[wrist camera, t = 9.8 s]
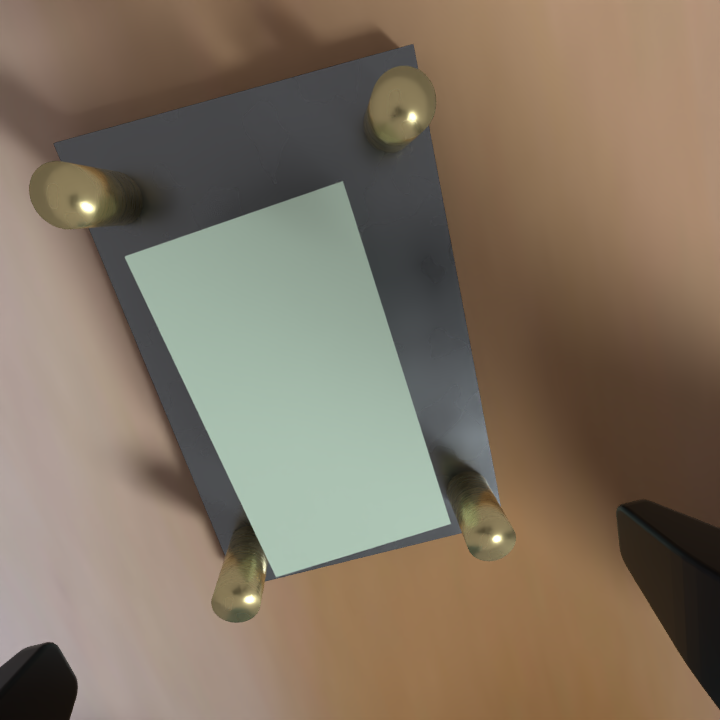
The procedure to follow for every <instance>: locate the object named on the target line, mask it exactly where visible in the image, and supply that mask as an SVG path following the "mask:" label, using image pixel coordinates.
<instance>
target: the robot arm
mask: <svg viewBox="0 0 720 720" xmlns="http://www.w3.org/2000/svg"><path fill="white" fill-rule="evenodd" d="M616 517H617V527H618V536H619V546H620V552H621V555H622V558H623V560H624V562H625V564H626V566H627V568H628V570H629V571H630V573H631V575H632V576H633V578H634V579H635V581H636V583H637V584H638V586H639V588H640V589H641V591H642V593H643V594H644V596H645V598H646V599H647V601H648V602H649V604H650V606H651V607H652V609H653V611H654V612H655V614H656V616H657V617H658V619H659V621H660V622H661V624H662V625H663V627H664V629H665V630H666V632H667V634H668V635H669V637H670V639H671V640H672V642H673V643H674V645H675V647H676V648H677V650H678V652H679V653H680V655H681V656H682V658H683V659H684V661H685V663H686V664H687V666H688V667H689V668H690V670H691V671H692V673H693V674H694V676H695V677H696V678H697V680H698V681H699V683H700V684H701V685H702V687H703V688H704V689H705V691H706V692H707V693H708V695H709V696H710V697H711V699H712V700H713V701H714V703H715V704H716V706H717V707H718V708H719V710H720V528H718V527H715V526H713V525H710V524H708V523H705V522H703V521H700V520H697V519H695V518H692V517H690V516H687V515H685V514H682V513H680V512H677V511H674V510H672V509H669V508H667V507H664V506H662V505H659V504H657V503H654V502H651V501H648V500H637V501H633V502H629V503H625V504H621V505H620V506H618V508H617V511H616ZM77 690H78V684H77V679H76V676H75V674H74V673H73V671H72V669H71V667H70V666H69V664H68V662H67V661H66V659H65V657H64V655H63V654H62V652H61V650H60V649H59V647H58V646H57V645H56V644H54V643H52V642H46V643H42V644H38V645H34V646H30V647H27V648H25V649H23V650H21V651H20V652H18V653H17V654H16V655H15V656H14V657H12V658H11V659H10V660H9V661H7V662H6V663H5V664H4V665H2V666H1V667H0V720H70V716H71V713H72V710H73V706H74V703H75V700H76V696H77Z"/></svg>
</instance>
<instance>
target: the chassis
mask: <svg viewBox="0 0 720 720" xmlns="http://www.w3.org/2000/svg"><path fill="white" fill-rule="evenodd" d="M435 109H436V95H435V91H434V88H433V85H432V83H431V81H430V80H429V79H428V77H427V76H426V75H425V74H424V73H423V72H421V71H420V70H418V66H417V61H416V55H415V50H414V45H413V44H412V45H408V46H404V47H401V48H397V49H393V50H390V51H386V52H383V53H379V54H375V55H372V56H368V57H364V58H361V59H357V60H354V61H350V62H346V63H343V64H339V65H335V66H332V67H328V68H324V69H321V70H317V71H314V72H310V73H306V74H303V75H299V76H295V77H292V78H288V79H285V80H281V81H277V82H274V83H270V84H266V85H263V86H259V87H256V88H252V89H248V90H245V91H241V92H237V93H234V94H230V95H227V96H223V97H219V98H216V99H212V100H208V101H205V102H201V103H198V104H194V105H190V106H187V107H183V108H179V109H176V110H172V111H168V112H165V113H161V114H158V115H154V116H150V117H147V118H143V119H139V120H136V121H132V122H129V123H125V124H121V125H118V126H114V127H110V128H107V129H103V130H100V131H96V132H92V133H89V134H85V135H81V136H78V137H74V138H71V139H67V140H63V141H60V142H56V143H54V146H55V148H56V151H57V153H58V155H59V158H60V160H61V161H52V162H48V163H45V164H43V165H41V166H40V167H39V168H38V169H37V170H36V171H35V172H34V173H33V175H32V177H31V180H30V185H29V194H30V199H31V202H32V204H33V206H34V208H35V210H36V211H37V213H38V214H39V215H40V216H41V217H42V218H43V219H44V220H45V221H47V222H48V223H50V224H51V225H53V226H55V227H58V228H62V229H81V228H89V230H90V232H91V235H92V237H93V240H94V242H95V244H96V247H97V249H98V252H99V254H100V256H101V259H102V261H103V264H104V266H105V268H106V271H107V273H108V276H109V278H110V280H111V283H112V285H113V288H114V290H115V292H116V295H117V297H118V300H119V302H120V304H121V307H122V309H123V312H124V314H125V316H126V319H127V321H128V324H129V326H130V328H131V331H132V333H133V336H134V338H135V340H136V343H137V345H138V348H139V350H140V352H141V355H142V357H143V360H144V362H145V364H146V367H147V369H148V372H149V374H150V376H151V379H152V381H153V384H154V386H155V388H156V391H157V393H158V396H159V398H160V400H161V403H162V405H163V408H164V410H165V412H166V415H167V417H168V420H169V422H170V424H171V427H172V429H173V432H174V434H175V436H176V439H177V441H178V444H179V446H180V448H181V451H182V453H183V456H184V458H185V460H186V463H187V465H188V468H189V470H190V472H191V475H192V477H193V480H194V482H195V485H196V487H197V489H198V492H199V494H200V497H201V499H202V501H203V504H204V506H205V509H206V511H207V513H208V516H209V518H210V521H211V523H212V525H213V528H214V530H215V533H216V535H217V537H218V540H219V542H220V545H221V547H222V549H223V552H224V554H225V559H224V562H223V565H222V569H221V572H220V575H219V578H218V581H217V584H216V588H215V591H214V594H213V597H212V601H211V604H212V608H213V611H214V612H215V613H216V615H217V616H219V617H220V618H221V619H223V620H225V621H229V622H235V623H238V622H244V621H247V620H250V619H251V618H253V617H254V616H255V615H256V614H257V613H258V611H259V608H260V604H261V599H262V593H263V588H264V583H265V581H268V580H273V579H277V578H281V577H285V576H289V575H293V574H297V573H301V572H305V571H309V570H313V569H317V568H321V567H325V566H329V565H333V564H338V563H342V562H346V561H350V560H354V559H358V558H362V557H366V556H370V555H374V554H378V553H382V552H386V551H390V550H394V549H398V548H402V547H407V546H411V545H415V544H419V543H423V542H427V541H431V540H435V539H439V538H443V537H447V536H451V535H455V534H459V533H462V534H463V536H464V539H465V542H466V544H467V547H468V549H469V551H470V553H471V554H472V555H473V556H474V557H476V558H477V559H480V560H483V561H494V560H498V559H500V558H503V557H504V556H506V555H507V554H508V553H509V552H510V551H511V550H512V548H513V547H514V544H515V541H516V535H515V532H514V530H513V528H512V526H511V524H510V522H509V521H508V519H507V517H506V515H505V514H504V512H503V510H502V508H501V505H500V500H499V494H498V489H497V484H496V478H495V473H494V468H493V463H492V457H491V452H490V447H489V441H488V436H487V431H486V426H485V420H484V415H483V410H482V404H481V399H480V394H479V389H478V383H477V378H476V373H475V367H474V362H473V357H472V352H471V346H470V341H469V336H468V330H467V325H466V320H465V314H464V309H463V304H462V299H461V293H460V288H459V283H458V277H457V272H456V267H455V262H454V256H453V251H452V246H451V240H450V235H449V230H448V225H447V219H446V214H445V209H444V203H443V198H442V193H441V188H440V182H439V177H438V172H437V166H436V161H435V156H434V150H433V145H432V140H431V135H430V129H429V124H430V122H431V120H432V118H433V116H434V113H435ZM342 181H343V183H344V186H345V189H346V193H347V196H348V199H349V202H350V205H351V209H352V212H353V215H354V218H355V221H356V224H357V228H358V231H359V234H360V237H361V240H362V243H363V247H364V250H365V253H366V256H367V259H368V262H369V266H370V269H371V272H372V275H373V278H374V281H375V285H376V288H377V291H378V294H379V297H380V301H381V304H382V307H383V310H384V313H385V316H386V320H387V323H388V326H389V329H390V332H391V335H392V339H393V342H394V345H395V348H396V351H397V354H398V358H399V361H400V364H401V367H402V370H403V373H404V377H405V380H406V383H407V386H408V389H409V393H410V396H411V399H412V402H413V405H414V408H415V412H416V415H417V418H418V421H419V424H420V427H421V431H422V434H423V437H424V440H425V443H426V446H427V450H428V453H429V456H430V459H431V462H432V465H433V469H434V472H435V475H436V478H437V481H438V485H439V488H440V491H441V494H442V497H443V500H444V504H445V507H446V510H447V513H448V516H449V519H450V523H451V524H449V525H446V526H442V527H439V528H436V529H433V530H429V531H426V532H423V533H419V534H416V535H413V536H410V537H406V538H403V539H400V540H397V541H393V542H390V543H387V544H384V545H380V546H377V547H374V548H370V549H367V550H364V551H361V552H357V553H354V554H351V555H348V556H344V557H341V558H338V559H335V560H331V561H328V562H325V563H322V564H318V565H315V566H312V567H308V568H305V569H302V570H299V571H295V572H292V573H289V574H286V575H282V576H279V577H276V576H275V574H274V572H273V570H272V568H271V566H270V563H269V561H268V559H267V557H266V555H265V553H264V551H263V549H262V547H261V544H260V542H259V540H258V538H257V536H256V534H255V532H254V530H253V528H252V525H251V523H250V521H249V519H248V517H247V515H246V513H245V511H244V509H243V506H242V504H241V502H240V500H239V498H238V496H237V494H236V492H235V490H234V487H233V485H232V483H231V481H230V479H229V477H228V475H227V473H226V470H225V468H224V466H223V464H222V462H221V460H220V458H219V456H218V454H217V451H216V449H215V447H214V445H213V443H212V441H211V439H210V437H209V435H208V432H207V430H206V428H205V426H204V424H203V422H202V420H201V418H200V416H199V413H198V411H197V409H196V407H195V405H194V403H193V401H192V399H191V397H190V394H189V392H188V390H187V388H186V386H185V384H184V382H183V380H182V377H181V375H180V373H179V371H178V369H177V367H176V365H175V363H174V361H173V358H172V356H171V354H170V352H169V350H168V348H167V346H166V344H165V342H164V339H163V337H162V335H161V333H160V331H159V329H158V327H157V325H156V323H155V320H154V318H153V316H152V314H151V312H150V310H149V308H148V306H147V304H146V301H145V299H144V297H143V295H142V293H141V291H140V289H139V287H138V284H137V282H136V280H135V278H134V276H133V274H132V272H131V270H130V268H129V265H128V263H127V261H126V259H125V256H127V255H130V254H133V253H136V252H139V251H142V250H145V249H148V248H151V247H153V246H156V245H159V244H162V243H165V242H168V241H171V240H174V239H177V238H180V237H182V236H185V235H188V234H191V233H194V232H197V231H200V230H203V229H206V228H208V227H211V226H214V225H217V224H220V223H223V222H226V221H229V220H232V219H235V218H237V217H240V216H243V215H246V214H249V213H252V212H255V211H258V210H261V209H263V208H266V207H269V206H272V205H275V204H278V203H281V202H284V201H287V200H290V199H292V198H295V197H298V196H301V195H304V194H307V193H310V192H313V191H316V190H318V189H321V188H324V187H327V186H330V185H333V184H336V183H339V182H342Z"/></svg>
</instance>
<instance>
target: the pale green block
mask: <svg viewBox="0 0 720 720" xmlns="http://www.w3.org/2000/svg"><path fill="white" fill-rule="evenodd" d="M125 259H126V261H127V263H128V265H129V268H130V270H131V272H132V274H133V276H134V278H135V280H136V282H137V284H138V287H139V289H140V291H141V293H142V295H143V297H144V299H145V301H146V304H147V306H148V308H149V310H150V312H151V314H152V316H153V318H154V320H155V323H156V325H157V327H158V329H159V331H160V333H161V335H162V337H163V339H164V342H165V344H166V346H167V348H168V350H169V352H170V354H171V356H172V358H173V361H174V363H175V365H176V367H177V369H178V371H179V373H180V375H181V377H182V380H183V382H184V384H185V386H186V388H187V390H188V392H189V394H190V397H191V399H192V401H193V403H194V405H195V407H196V409H197V411H198V413H199V416H200V418H201V420H202V422H203V424H204V426H205V428H206V430H207V432H208V435H209V437H210V439H211V441H212V443H213V445H214V447H215V449H216V451H217V454H218V456H219V458H220V460H221V462H222V464H223V466H224V468H225V470H226V473H227V475H228V477H229V479H230V481H231V483H232V485H233V487H234V490H235V492H236V494H237V496H238V498H239V500H240V502H241V504H242V506H243V509H244V511H245V513H246V515H247V517H248V519H249V521H250V523H251V525H252V528H253V530H254V532H255V534H256V536H257V538H258V540H259V542H260V544H261V547H262V549H263V551H264V553H265V555H266V557H267V559H268V561H269V563H270V566H271V568H272V570H273V572H274V574H275V576H276V577H279V576H282V575H286V574H289V573H292V572H295V571H299V570H302V569H305V568H308V567H312V566H315V565H318V564H322V563H325V562H328V561H331V560H335V559H338V558H341V557H344V556H348V555H351V554H354V553H357V552H361V551H364V550H367V549H370V548H374V547H377V546H380V545H384V544H387V543H390V542H393V541H397V540H400V539H403V538H406V537H410V536H413V535H416V534H419V533H423V532H426V531H429V530H433V529H436V528H439V527H442V526H446V525H449V524H451V523H450V519H449V516H448V513H447V510H446V507H445V504H444V500H443V497H442V494H441V491H440V488H439V485H438V481H437V478H436V475H435V472H434V469H433V465H432V462H431V459H430V456H429V453H428V450H427V446H426V443H425V440H424V437H423V434H422V431H421V427H420V424H419V421H418V418H417V415H416V412H415V408H414V405H413V402H412V399H411V396H410V393H409V389H408V386H407V383H406V380H405V377H404V373H403V370H402V367H401V364H400V361H399V358H398V354H397V351H396V348H395V345H394V342H393V339H392V335H391V332H390V329H389V326H388V323H387V320H386V316H385V313H384V310H383V307H382V304H381V301H380V297H379V294H378V291H377V288H376V285H375V281H374V278H373V275H372V272H371V269H370V266H369V262H368V259H367V256H366V253H365V250H364V247H363V243H362V240H361V237H360V234H359V231H358V228H357V224H356V221H355V218H354V215H353V212H352V209H351V205H350V202H349V199H348V196H347V193H346V189H345V186H344V183H343V181H342V182H339V183H336V184H333V185H330V186H327V187H324V188H321V189H318V190H316V191H313V192H310V193H307V194H304V195H301V196H298V197H295V198H292V199H290V200H287V201H284V202H281V203H278V204H275V205H272V206H269V207H266V208H263V209H261V210H258V211H255V212H252V213H249V214H246V215H243V216H240V217H237V218H235V219H232V220H229V221H226V222H223V223H220V224H217V225H214V226H211V227H208V228H206V229H203V230H200V231H197V232H194V233H191V234H188V235H185V236H182V237H180V238H177V239H174V240H171V241H168V242H165V243H162V244H159V245H156V246H153V247H151V248H148V249H145V250H142V251H139V252H136V253H133V254H130V255H127V256H125Z"/></svg>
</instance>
